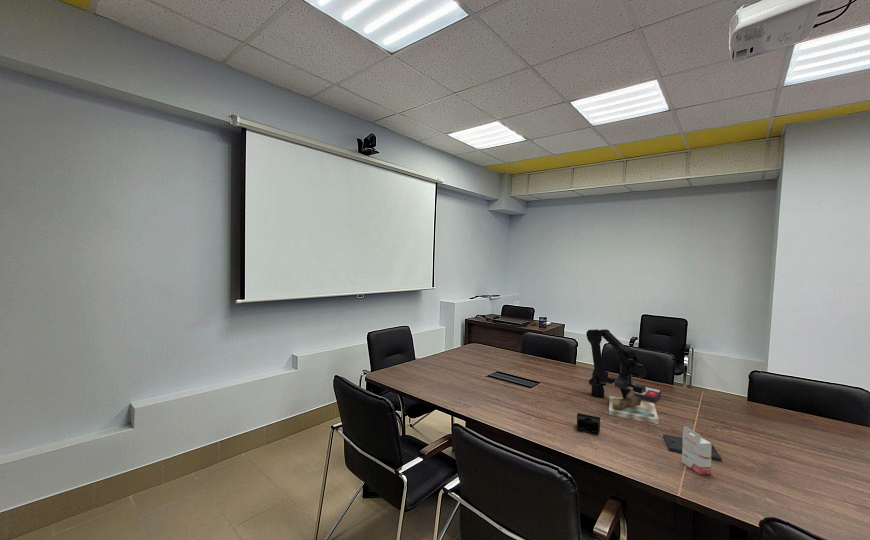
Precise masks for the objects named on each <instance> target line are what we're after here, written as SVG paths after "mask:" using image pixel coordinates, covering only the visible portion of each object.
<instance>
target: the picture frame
mask: <svg viewBox="0 0 870 540" xmlns="http://www.w3.org/2000/svg"><path fill="white" fill-rule="evenodd" d="M662 438H663V440H664V442H665V445H666V448H667V450H668V452H672V453H673V452H674V453H678V454H682V444H683V437H681V436H674V435H669V434H664V433H663V434H662ZM715 460H716V462H720V461H721V462H723V461H722V460H723V459H722V456H721V455H720V454H719V453H718V451H717V450H716V447H715V446H714V445H713V443H712V444H711V461H715ZM721 462H720V463H721Z"/></svg>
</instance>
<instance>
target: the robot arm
mask: <svg viewBox="0 0 870 540" xmlns="http://www.w3.org/2000/svg"><path fill="white" fill-rule="evenodd" d="M585 334H586V338H587V341H588V342H589V344H590V345H591V348H590V349H591V354H592V360H593V370H592V375H591V376H592V377H591V378H590V379H589V380H588V383H589V384H588V385H590V386H591V394H590V395H591V396H592V397H598V398H604V396H605V387H604V386H607V384H610V385H612V384H613V383H614V387H615V388H618V390H620V392H621V395H622V398H627V397H629V394H630V393H631V392H632V391H634V393H635V392H637V393H640V394H642V393H644V392H646V388H645V387H646V386H645V385H643V384H639V383H638V384H633V383H634V382H633V376H634V377H637V378H639V379H644V378H646V376H647V375H648V371H647V369H646V367H645V365H643V364H640V360H639V359H638V357H637V354H636V352H635V351H634V349H632V348H631V347H630V346H627V345H625V344H623V343H622V342H621V341H620V340H619V339H618V338H617V337H616V336H615V335H614V334H612V333H611V331H610V329H608V328H607V329H606V328H605V329H604V328H603V329H598V328H597V329H596V328H595V329H588V330H587V331H586V333H585ZM603 339H604V340H605V341H606V342H607V343H608V344H609V345H610V346H611V347H613V349H615V351H616V354H617V356H618V357H619V359H617V360H616V361H617V362H618V363H620V371H619V373H618V377H616V376H613V375H612V376H609V372H608V371H606V370H605V369H604V365H603V364H604V363H603V358H602V357H603V356H602V350H601V342H602V340H603Z"/></svg>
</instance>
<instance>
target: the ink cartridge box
mask: <svg viewBox="0 0 870 540" xmlns="http://www.w3.org/2000/svg"><path fill="white" fill-rule="evenodd" d="M682 438H683V444H682V453H681V462H682V464H684V465H686V466H687V467H688V468H690V469H691V470H692V471H694V472H695V473H697V474H698V475H712V474H711V473H712V460H711V444H712V445H713V443H712V442H710V441H708V440H706V439H705V438H702V436H701V434H700V433H698V432H696V431H694V430H692V429H691V428H689V427H687V426H686V425H684V426H683V431H682Z"/></svg>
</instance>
